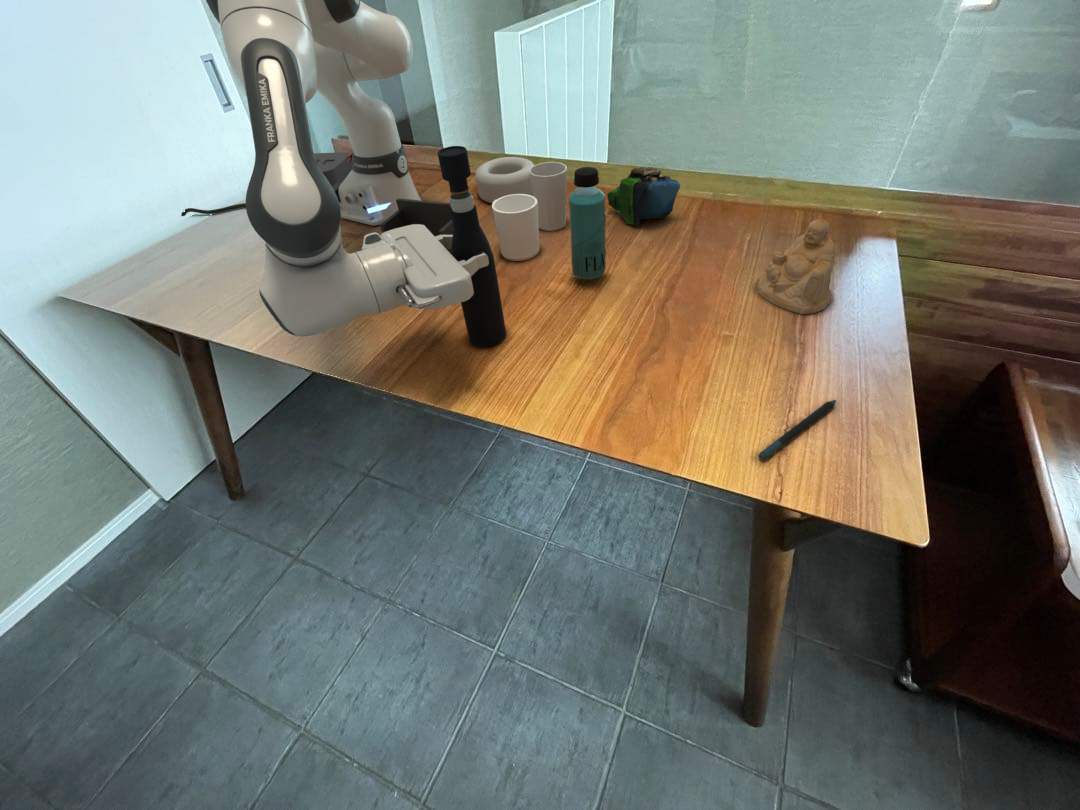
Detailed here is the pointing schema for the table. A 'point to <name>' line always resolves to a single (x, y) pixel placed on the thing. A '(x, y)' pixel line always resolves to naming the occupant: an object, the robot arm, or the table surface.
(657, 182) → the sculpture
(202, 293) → the table surface
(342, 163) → the streaming box
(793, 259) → the statue
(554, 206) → the cup
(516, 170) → the thick torus
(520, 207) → the mug
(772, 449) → the pen
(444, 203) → the book rack
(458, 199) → the wine bottle
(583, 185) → the beverage bottle
